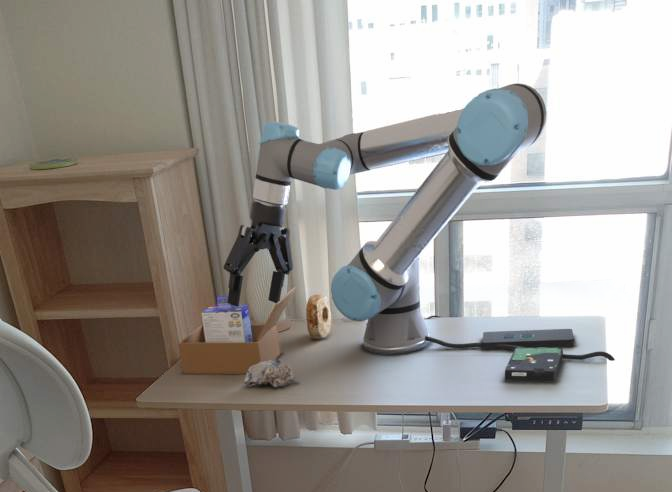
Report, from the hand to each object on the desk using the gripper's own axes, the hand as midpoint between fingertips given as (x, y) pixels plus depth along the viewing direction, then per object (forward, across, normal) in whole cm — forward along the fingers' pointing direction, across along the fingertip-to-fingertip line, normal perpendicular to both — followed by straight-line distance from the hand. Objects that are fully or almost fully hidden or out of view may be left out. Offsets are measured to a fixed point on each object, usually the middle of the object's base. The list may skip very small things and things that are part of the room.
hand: (253, 303), depth 208 cm
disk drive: (-3, -21, +61) cm, 64 cm away
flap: (0, -1, +6) cm, 6 cm away
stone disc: (+8, -22, +4) cm, 24 cm away
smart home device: (-4, -37, +50) cm, 62 cm away
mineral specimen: (+13, +8, +15) cm, 22 cm away
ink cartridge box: (+14, +1, -3) cm, 15 cm away
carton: (+15, +1, -2) cm, 15 cm away
